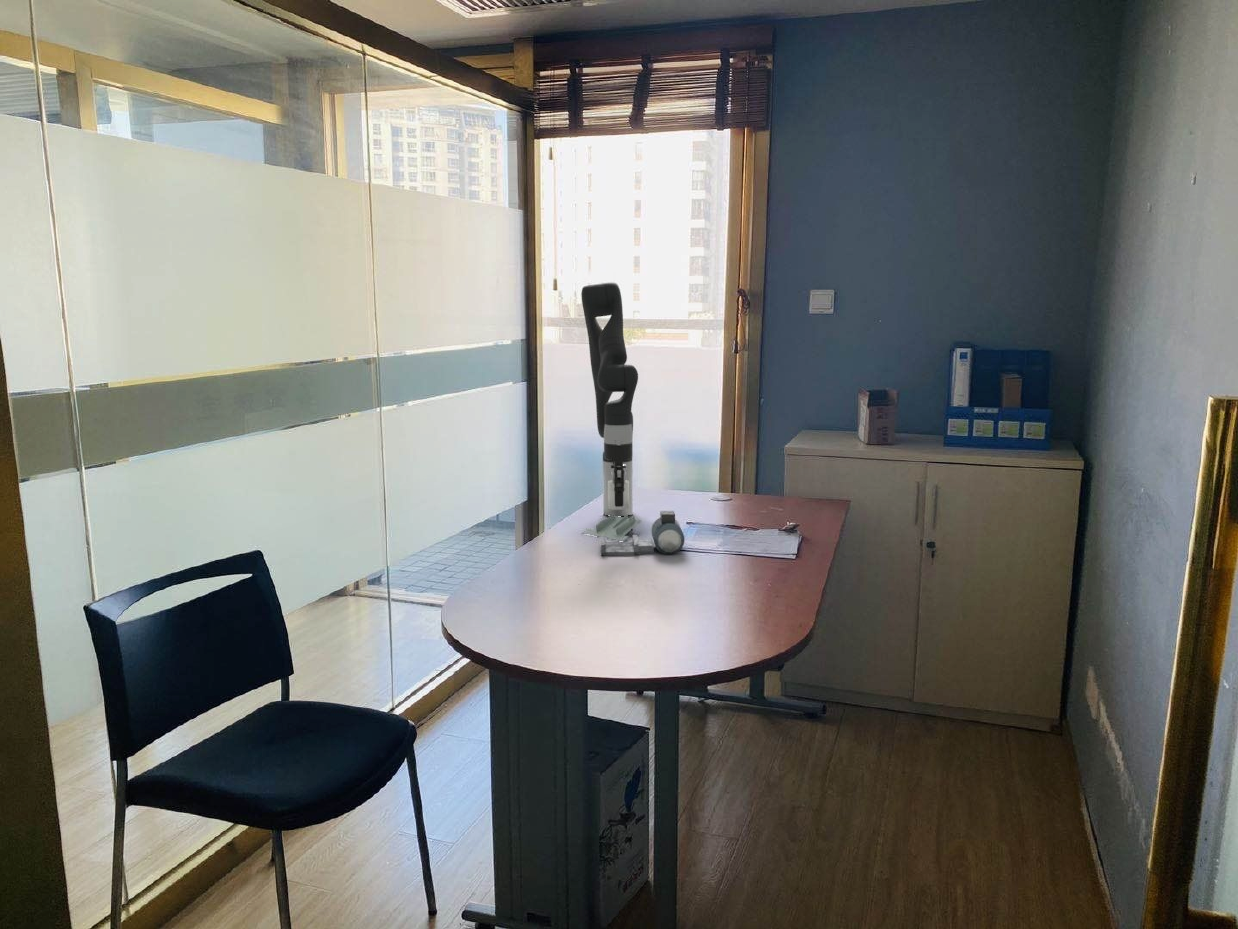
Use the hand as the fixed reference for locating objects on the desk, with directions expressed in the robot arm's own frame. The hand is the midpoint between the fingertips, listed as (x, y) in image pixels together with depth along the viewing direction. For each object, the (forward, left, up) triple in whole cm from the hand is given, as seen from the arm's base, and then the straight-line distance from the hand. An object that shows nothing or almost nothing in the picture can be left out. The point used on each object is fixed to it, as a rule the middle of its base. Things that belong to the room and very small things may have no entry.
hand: (618, 503), depth 236 cm
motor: (0, +6, -13) cm, 14 cm away
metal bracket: (-18, -1, -14) cm, 23 cm away
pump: (0, 0, -1) cm, 1 cm away
